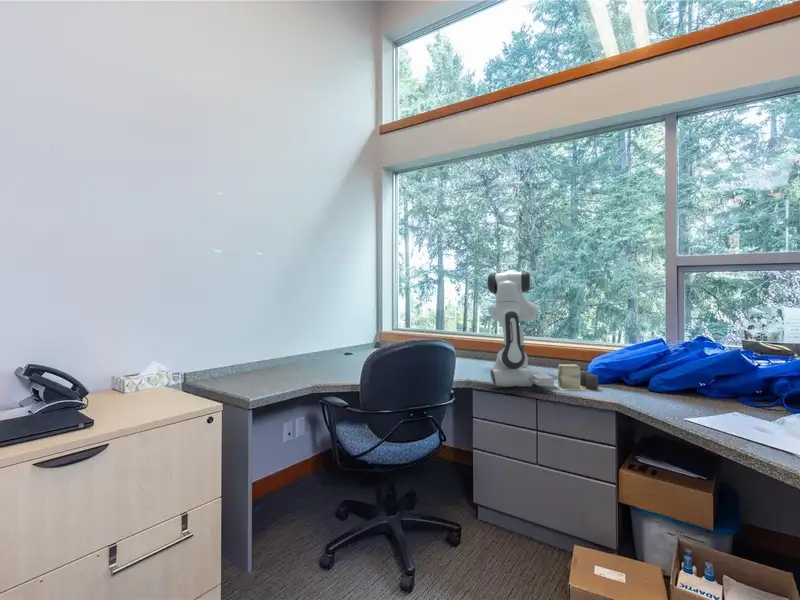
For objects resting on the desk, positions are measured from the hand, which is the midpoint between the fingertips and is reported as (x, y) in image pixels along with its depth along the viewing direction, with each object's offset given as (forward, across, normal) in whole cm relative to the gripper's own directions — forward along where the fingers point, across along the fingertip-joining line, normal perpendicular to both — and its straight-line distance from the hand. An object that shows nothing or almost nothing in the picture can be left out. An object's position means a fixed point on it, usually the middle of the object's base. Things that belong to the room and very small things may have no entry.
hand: (556, 377), depth 185 cm
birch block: (+6, 0, +4) cm, 7 cm away
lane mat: (+5, 0, +5) cm, 7 cm away
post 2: (+15, -3, +4) cm, 16 cm away
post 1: (+15, +3, +4) cm, 16 cm away
